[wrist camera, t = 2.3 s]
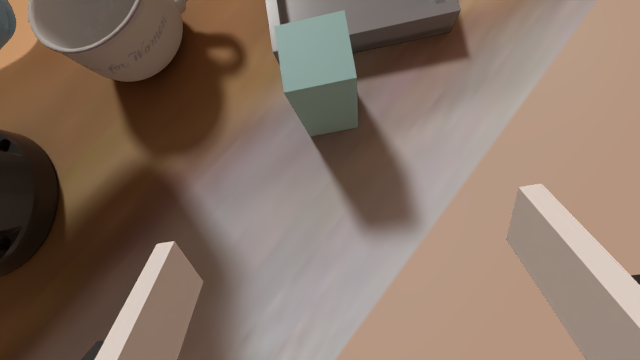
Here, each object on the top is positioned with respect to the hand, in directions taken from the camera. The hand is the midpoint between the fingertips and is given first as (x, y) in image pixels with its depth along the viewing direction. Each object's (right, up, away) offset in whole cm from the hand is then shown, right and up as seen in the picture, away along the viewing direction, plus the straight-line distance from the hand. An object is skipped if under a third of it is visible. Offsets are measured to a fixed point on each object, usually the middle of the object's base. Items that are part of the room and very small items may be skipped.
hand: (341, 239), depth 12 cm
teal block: (0, +9, +17) cm, 19 cm away
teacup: (-17, +17, +20) cm, 31 cm away
